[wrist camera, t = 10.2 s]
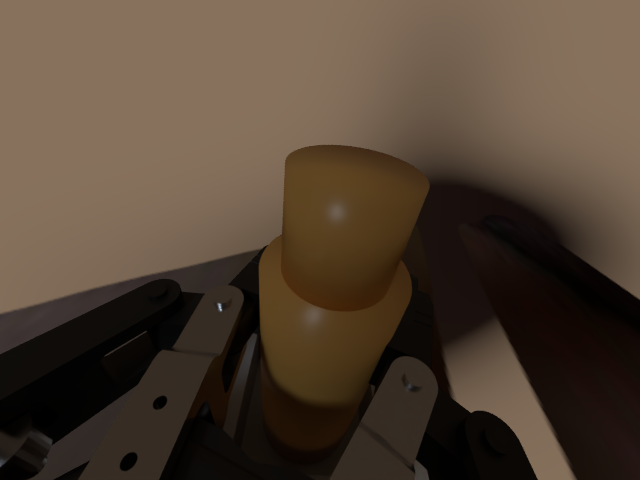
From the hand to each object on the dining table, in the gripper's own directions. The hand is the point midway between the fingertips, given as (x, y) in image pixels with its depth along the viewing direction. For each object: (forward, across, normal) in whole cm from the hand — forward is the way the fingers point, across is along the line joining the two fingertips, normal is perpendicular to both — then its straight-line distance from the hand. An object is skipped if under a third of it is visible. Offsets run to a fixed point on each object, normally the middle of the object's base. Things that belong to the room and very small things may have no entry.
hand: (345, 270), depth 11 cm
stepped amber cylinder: (-3, 0, +8) cm, 8 cm away
